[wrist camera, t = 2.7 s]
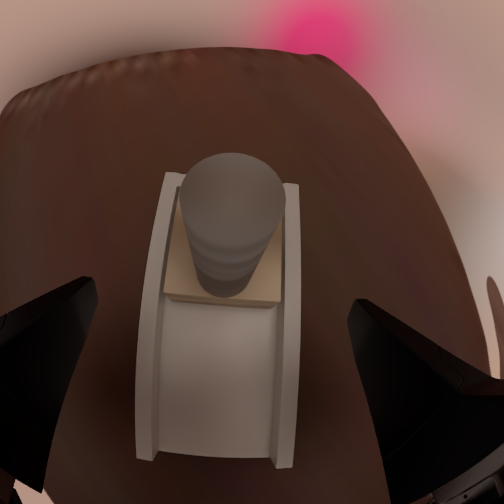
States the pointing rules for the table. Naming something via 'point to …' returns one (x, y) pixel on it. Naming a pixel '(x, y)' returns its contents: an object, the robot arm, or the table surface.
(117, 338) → the table surface
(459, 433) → the robot arm
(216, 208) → the handle block
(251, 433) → the shelf lane
